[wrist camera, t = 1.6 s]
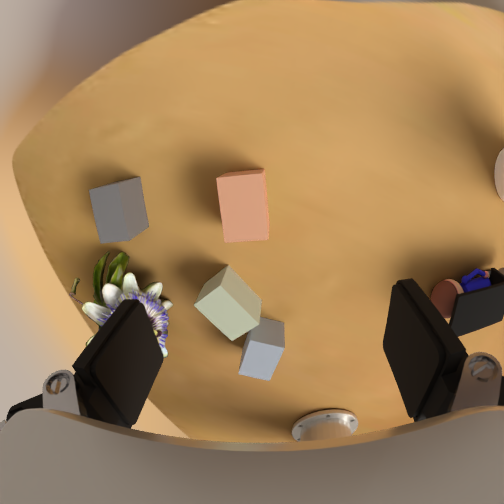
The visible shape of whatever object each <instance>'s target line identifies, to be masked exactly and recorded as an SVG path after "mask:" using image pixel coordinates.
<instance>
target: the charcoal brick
mask: <svg viewBox="0 0 504 504" xmlns="http://www.w3.org/2000/svg"><path fill="white" fill-rule="evenodd" d="M89 193H90V198H91V203H92V208H93V213H94V218H95V222H96V227H97V231H98V235H99V239H100V243H110V242H120V241H130V240H131V239H132V238H134V237H135V236H137V235H138V234H139V233H141V232H142V231H144V230H145V229H147V228H148V227H149V223H148V218H147V213H146V208H145V202H144V196H143V190H142V184H141V178H140V177H136V178H132V179H127V180H122V181H117V182H113V183H110V184H106V185H103V186H100V187H97V188H94V189H91V190H89Z"/></svg>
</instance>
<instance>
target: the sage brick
mask: <svg viewBox="0 0 504 504" xmlns="http://www.w3.org/2000/svg"><path fill="white" fill-rule="evenodd" d="M261 304H262V300H261V299H260V298H259V297H258V296H257V295H256V293H255V292H254V291H253V290H252V289H251V288H250V287H249V286H248V285H247V284H246V283H245V282H244V281H243V280H242V279H241V278H240V277H239V276H238V274H237V273H236V272H235V271H234V270H233V269H232V268H231V267H230V266H229V265H227V266H226V267H225V268H224V269H222V270H221V271H220V272H219V273H217V274H216V275H215V276H213V277H212V278H211V279H210V280H208V281H207V282H206V283H204V286H203V288H202V290H201V292H200V294H199V296H198V298H197V300H196V302H195V304H194V306H195V307H196V308H197V309H198V310H199V311H200V312H201V313H202V314H203V315H204V316H205V317H206V318H207V319H209V320H210V321H211V322H212V323H213V324H214V325H215V326H216V327H217V328H218V329H219V330H220V331H221V332H222V333H224V334H225V335H226V336H227V337H228V338H229V339H230V340H231V341H233V340H235V339H236V338H238V337H240V336H241V335H243V334H244V333H246V332H248V331H249V330H251V329H253V328H254V327H256V326H257V325H259V323H260V313H261Z"/></svg>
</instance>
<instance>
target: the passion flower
mask: <svg viewBox="0 0 504 504" xmlns="http://www.w3.org/2000/svg"><path fill="white" fill-rule="evenodd" d="M109 254H110V251H108V252H107V253H106V254H105V255H104V256H103V257H102V258H101V259H100V260H98V263H97V264H96V265H95V267H94V273H93V287H94V295H93V296H94V299H95V300H94V302H93V303H91V302H86V303H84V304H83V303H82V302H80V301H79V300H77V299H75V298H74V297H73V296H72V295H76V286H77V284H78V283H79V281H80V279H79V278H75V280H74V284H73V286H72V291H71V292H70V294H69V295H70V296H71V297H72V298H73V299H74V300H76V301H78V302H79V303H81V304H82V310H83V311H84V312H85V314H86V315H87V316H88V317H89V318H90V319H92V320H93V321H95V322H96V323H97V324H98V325H99V330H100V328H101V327H102V326H103V324H104V323H105V322H106V321H107V319H108V318H109V317H110V316H111V314H112V313H113V312H114V311H115V310H116V308H117V307H118V306H119V305H120V303H121V302H122V301H123V300H124V299H138V300H139V301H140V303H143V304H144V306H145V309H146V312H147V314H148V317H149V320H150V322H151V325H152V328H153V330H154V333H155V335H156V338H157V340H158V343H159V345H160V347H161V350H162V352H163V356H164V358H165V357H167V356H168V352H167V350H166V348H165V339H166V337H167V336H168V330H167V326H168V325H169V322H168V321H167V320H168V319H169V317H168V313H167V310H169V309H170V307H172V306H173V304H172V303H171V301H169V300H160V299H158V298H159V296H160V295H161V292H162V287H163V286H162V283H161V282H152V283H150V284H149V285H147V286H146V287H145V288H144V289H140V288H139V287H138V285H137V281H136V278H135V276H134V274H133V273H130V272H128V273H127V274H126V275H125V276H124V273H125V270H126V267H127V265H128V262H129V256H127V255H126V253H124V252H121V253H119V254H118V255H117V256H116V257H115V258H114V259H113V260H112V262H111V263H110V265H109V266H108V273H107V276H106V284H105V285H104V286H103V274H104V269H105V265H106V260H107V257H108V255H109ZM123 276H124V277H123ZM95 335H96V334H95ZM95 335H94V336H95ZM94 336H92V337H91V338H90V339H89V340H88V341H87V342H86V346H87V345H88V344H89V343H90V341H91V340H92V339H93V337H94Z"/></svg>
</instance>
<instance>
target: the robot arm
mask: <svg viewBox="0 0 504 504" xmlns="http://www.w3.org/2000/svg"><path fill="white" fill-rule="evenodd" d="M383 349H384V352H385V354H386V357H387V359H388V362H389V364H390V367H391V369H392V372H393V375H394V377H395V380H396V382H397V385H398V388H399V390H400V393H401V396H402V399H403V402H404V404H405V407H406V410H407V413H408V416H409V417H410V418H412V417H413V419H414V423H410V424H406V425H402V426H398V427H394V428H389V429H385V430H380V431H375V432H370V433H365V434H359V435H353V436H352V433H353V432H354V431H355V430H356V429H357V427H358V419H357V417H356V415H355V414H353V413H351V412H349V411H346V410H340V409H331V410H323V411H318V412H314V413H311V414H308V415H306V416H304V417H302V418H301V419H299V420H298V421H297V422H296V423H294V425H293V427H292V436H293V438H294V439H295V440H297V441H298V442H282V443H237V442H219V441H206V440H196V439H188V438H180V437H173V436H166V435H160V434H154V433H149V432H144V431H139V430H134V429H131V427H132V425H134V424H135V423H136V422H137V419H138V417H139V415H140V412H141V410H142V408H143V406H144V403H145V401H146V399H147V396H148V394H149V392H150V390H151V387H152V385H153V383H154V381H155V378H156V376H157V374H158V372H159V369H160V367H161V365H162V363H163V359H164V356H163V352H162V350H161V347H160V345H159V343H158V340H157V338H156V335H155V333H154V330H153V328H152V325H151V322H150V320H149V317H148V314H147V312H146V309H145V306H144V304H143V303H140V301H139V300H138V299H124V300H123V301H122V302H121V303H120V305H119V306H118V307H117V308H116V310H115V311H114V312H113V313H112V314H111V316H110V317H109V318H108V319H107V321H106V322H105V323H104V324H103V326H102V327H101V328H100V330H99V331H98V332H97V333H96V335H95V336H94V337H93V339H92V340H91V341H90V343H89V344H88V345H87V346H86V348H85V349H84V350H83V352H82V353H81V354H80V356H79V357H78V358H77V360H76V361H75V363H74V364H73V365H72V367H73V368H74V370H75V371H76V372H75V374H74V375H73V374H72V373H71V372H70V371H68V370H59V371H56V372H55V373H52V374H51V375H50V376H49V377H48V378H47V379H46V380H45V382H44V384H43V393H42V394H40V395H38V396H35V397H33V398H30V399H28V400H26V401H23V402H21V403H18V404H16V405H14V406H12V407H11V408H10V410H9V412H8V415H7V419H6V421H7V422H6V421H5V420H3V421H2V422H0V504H504V376H502V367H501V365H500V363H499V361H498V360H497V359H496V358H495V357H493V356H492V355H490V354H488V353H484V352H476V353H473V354H471V355H470V356H468V354H467V353H466V349H465V347H464V346H463V344H462V343H461V341H460V340H459V338H458V337H457V335H456V334H455V333H454V331H453V330H452V328H451V327H450V326H449V324H448V323H447V322H446V320H445V319H444V317H443V316H442V315H441V313H440V312H439V311H438V309H437V308H436V307H435V306H434V304H433V303H432V302H431V300H430V299H429V298H428V297H427V295H426V294H425V293H424V292H423V290H422V289H421V288H420V287H419V285H418V284H417V283H416V282H415V281H414V280H413V279H404V280H398V281H397V283H396V285H393V287H392V292H391V299H390V306H389V312H388V318H387V324H386V329H385V334H384V339H383Z"/></svg>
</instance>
